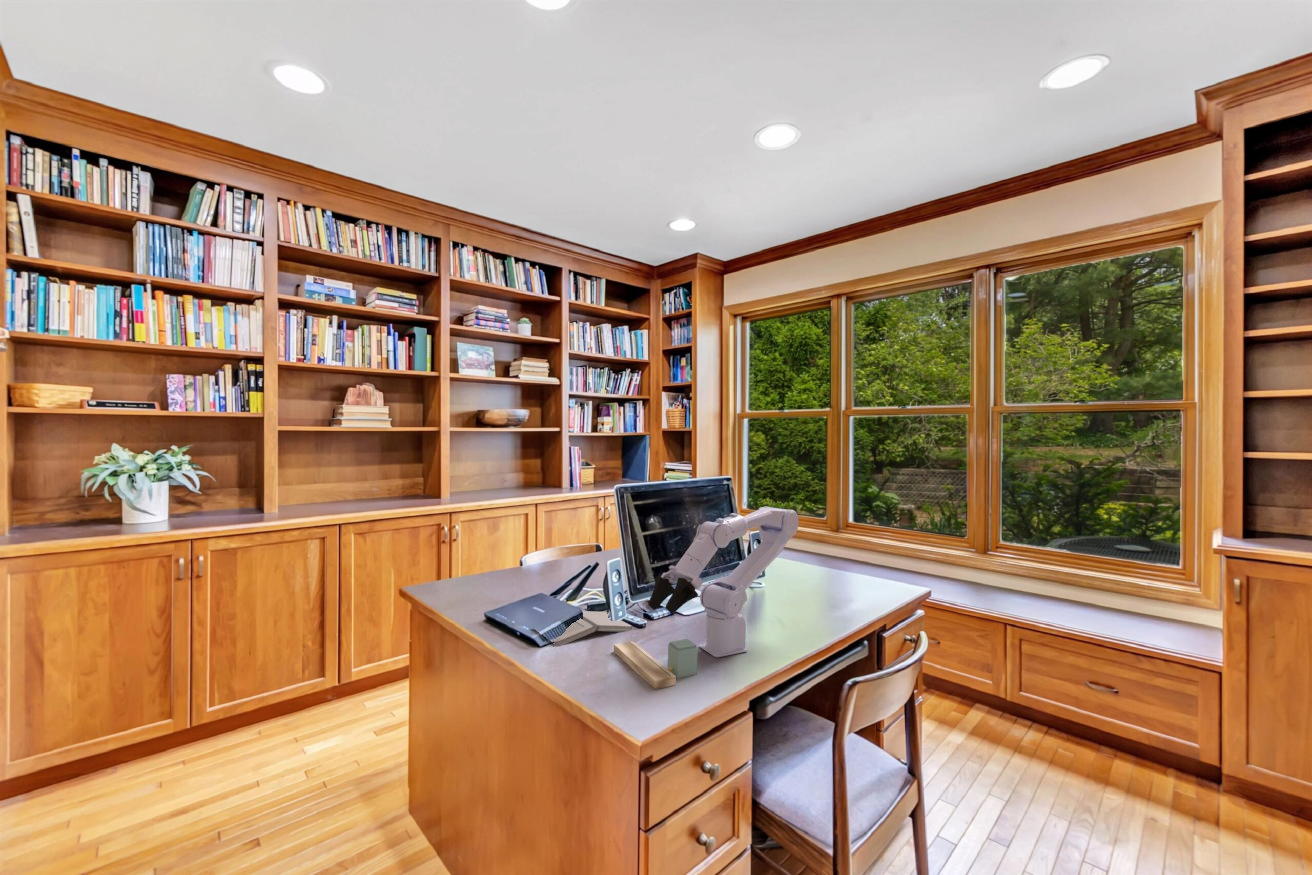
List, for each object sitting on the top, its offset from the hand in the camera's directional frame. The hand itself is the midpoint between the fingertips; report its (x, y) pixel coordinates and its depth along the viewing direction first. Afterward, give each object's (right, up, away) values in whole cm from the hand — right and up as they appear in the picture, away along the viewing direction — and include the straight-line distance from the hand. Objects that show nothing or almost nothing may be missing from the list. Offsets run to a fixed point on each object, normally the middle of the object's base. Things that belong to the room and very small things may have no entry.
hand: (659, 608), depth 124 cm
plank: (-4, -14, +2) cm, 15 cm away
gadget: (-21, -14, +26) cm, 36 cm away
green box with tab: (+5, -14, 0) cm, 15 cm away
